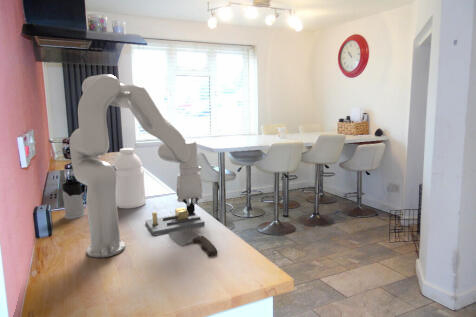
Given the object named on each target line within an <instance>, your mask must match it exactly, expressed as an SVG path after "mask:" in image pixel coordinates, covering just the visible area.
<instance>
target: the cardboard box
mask: <svg viewBox="0 0 476 317" xmlns="http://www.w3.org/2000/svg"><path fill="white" fill-rule="evenodd" d="M174 215H175V217H176V219H177V220H178V221H179V220H184V219H188V210H187V208H185V207H178V208H175V209H174Z"/></svg>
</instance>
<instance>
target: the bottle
mask: <svg viewBox="0 0 476 317" xmlns="http://www.w3.org/2000/svg"><path fill="white" fill-rule="evenodd" d="M142 166H143V162H142V160H141V159H140V157H139V156H138V155H137V154H136V153H135V148H133V147H124V148H120V149H119V155H118V156H117V157H116V159H115V161H114V164H113V167H114V169H115V171H116V174H117V184H116V201H117V208H120V209H135V208H140V207H142V206H144V205H145V204H146V190H145V189H146V188H145V177H144V176H145V174H144V170H143V169H142V168H141V167H142Z"/></svg>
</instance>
